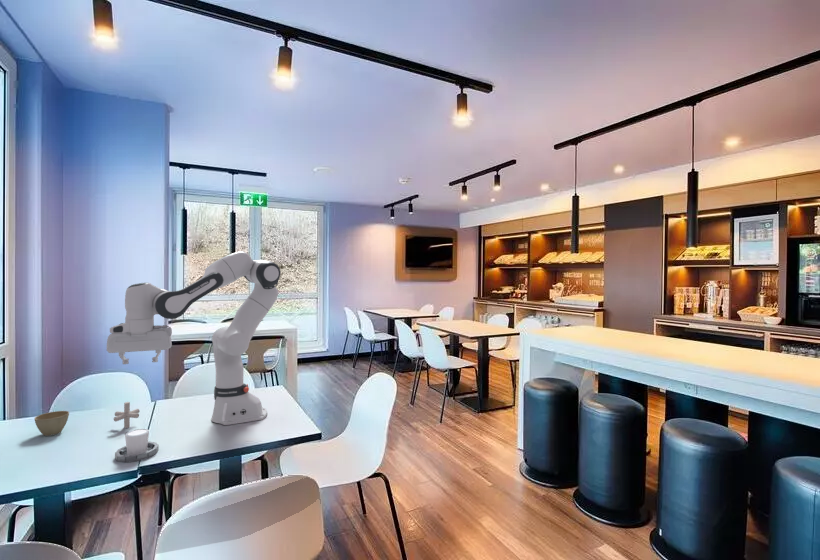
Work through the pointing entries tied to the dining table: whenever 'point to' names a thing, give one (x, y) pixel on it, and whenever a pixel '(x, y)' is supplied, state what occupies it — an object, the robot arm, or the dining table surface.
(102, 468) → the dining table surface
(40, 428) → the tan bowl
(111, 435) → the dining table surface
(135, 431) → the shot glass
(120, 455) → the bowl
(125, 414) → the pipe connector
